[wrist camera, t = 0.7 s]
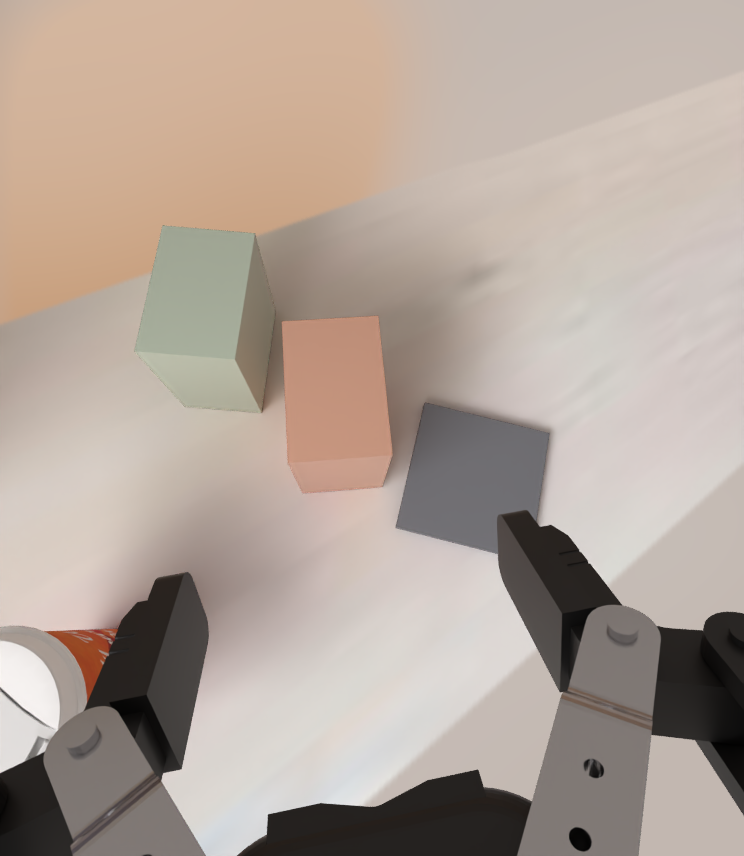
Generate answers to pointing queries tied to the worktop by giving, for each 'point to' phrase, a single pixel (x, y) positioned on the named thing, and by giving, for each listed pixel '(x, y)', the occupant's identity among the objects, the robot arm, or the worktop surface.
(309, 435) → the salmon orange block
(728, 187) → the worktop surface
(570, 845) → the robot arm
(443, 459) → the felt coaster
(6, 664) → the paper cup
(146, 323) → the sage green block
